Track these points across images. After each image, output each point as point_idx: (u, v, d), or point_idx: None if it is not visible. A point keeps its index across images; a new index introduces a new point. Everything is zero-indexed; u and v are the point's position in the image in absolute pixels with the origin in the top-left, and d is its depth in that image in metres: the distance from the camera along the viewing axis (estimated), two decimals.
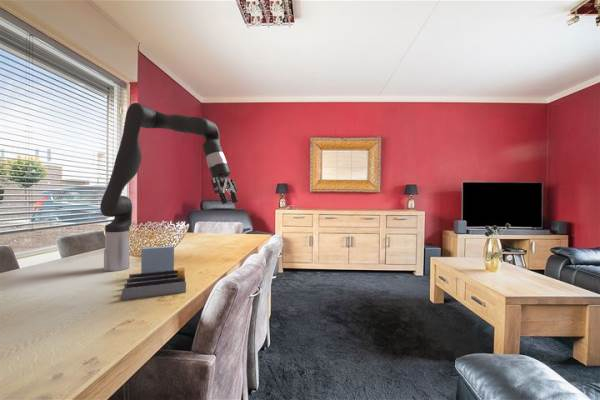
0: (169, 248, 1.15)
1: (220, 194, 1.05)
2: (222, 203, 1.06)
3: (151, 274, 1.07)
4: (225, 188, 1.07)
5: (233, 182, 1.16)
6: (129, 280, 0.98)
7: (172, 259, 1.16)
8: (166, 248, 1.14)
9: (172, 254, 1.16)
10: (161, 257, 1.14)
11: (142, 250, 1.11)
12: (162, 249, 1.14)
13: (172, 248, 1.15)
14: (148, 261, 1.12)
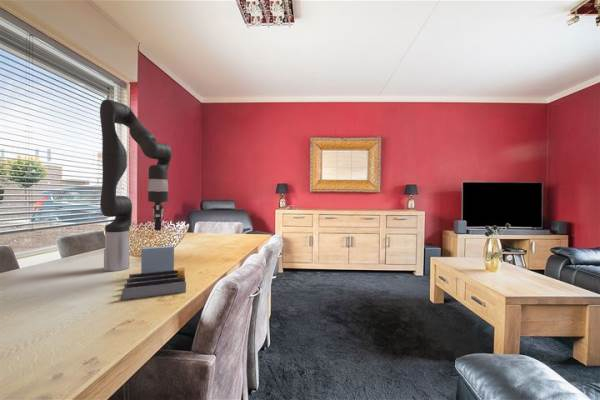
0: (169, 248, 1.15)
1: (157, 221, 1.09)
2: (155, 229, 1.10)
3: (151, 274, 1.07)
4: None
5: None
6: (129, 280, 0.98)
7: (172, 259, 1.16)
8: (166, 248, 1.14)
9: (172, 254, 1.16)
10: (161, 257, 1.14)
11: (142, 250, 1.11)
12: (162, 249, 1.14)
13: (172, 248, 1.15)
14: (148, 261, 1.12)
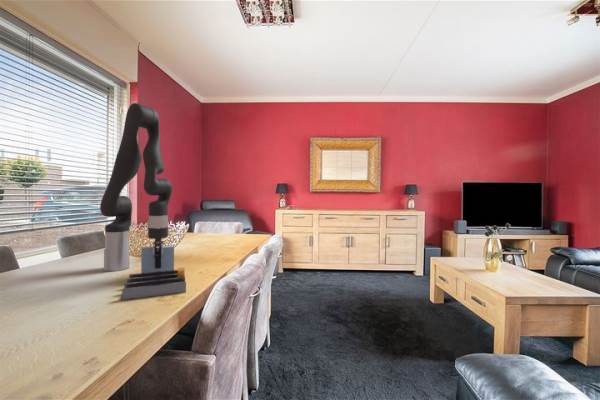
0: (169, 248, 1.15)
1: (157, 259, 1.12)
2: (155, 267, 1.12)
3: (151, 274, 1.07)
4: (162, 252, 1.14)
5: None
6: (129, 280, 0.98)
7: (172, 259, 1.16)
8: (166, 248, 1.14)
9: (172, 254, 1.16)
10: None
11: (142, 250, 1.11)
12: None
13: (172, 248, 1.15)
14: (148, 261, 1.12)
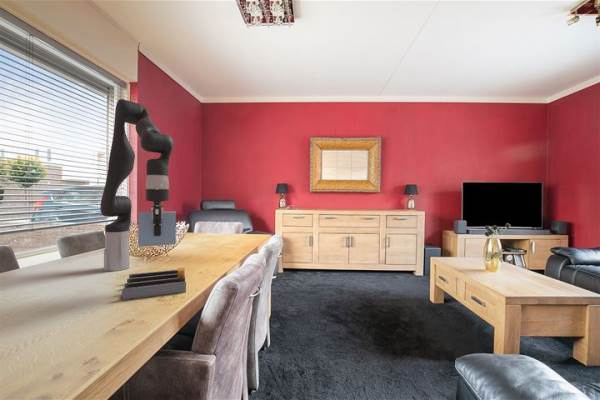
0: (170, 213, 1.01)
1: (156, 225, 0.97)
2: (154, 235, 0.98)
3: (151, 274, 1.07)
4: None
5: None
6: (129, 280, 0.98)
7: (174, 226, 1.01)
8: (167, 213, 1.00)
9: (174, 220, 1.01)
10: None
11: (139, 214, 0.96)
12: None
13: (174, 213, 1.01)
14: (146, 227, 0.97)
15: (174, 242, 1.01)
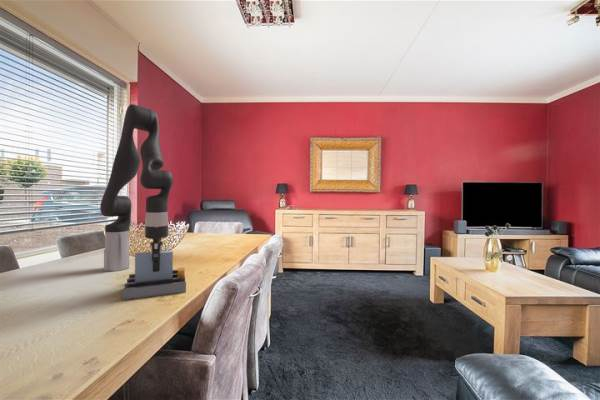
0: (167, 253, 1.00)
1: (155, 261, 0.95)
2: (153, 271, 0.96)
3: None
4: (161, 254, 0.98)
5: (160, 241, 1.06)
6: (129, 280, 0.98)
7: (171, 266, 1.01)
8: (164, 253, 1.00)
9: (171, 260, 1.01)
10: None
11: (136, 256, 0.96)
12: None
13: (171, 253, 1.01)
14: (143, 269, 0.97)
15: None
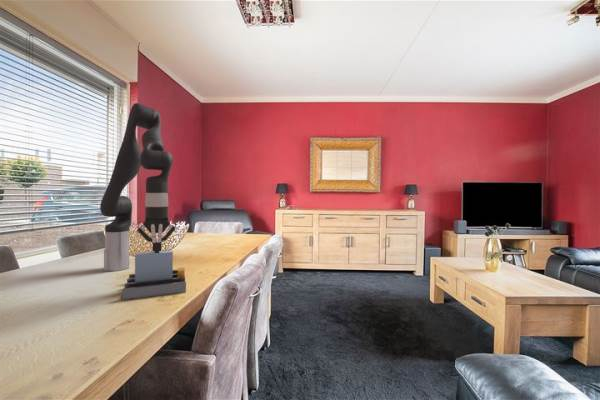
0: (167, 253, 1.00)
1: (152, 242, 0.99)
2: None
3: None
4: (155, 236, 0.98)
5: (170, 230, 1.01)
6: (129, 280, 0.98)
7: (171, 266, 1.01)
8: (164, 253, 1.00)
9: (171, 260, 1.01)
10: (158, 264, 0.99)
11: (136, 256, 0.96)
12: (159, 255, 0.99)
13: (171, 253, 1.01)
14: (143, 269, 0.97)
15: None
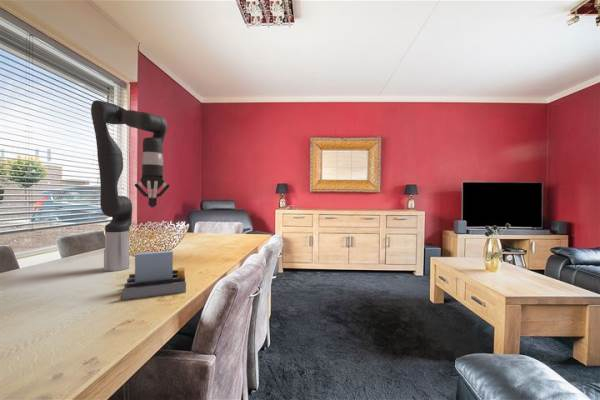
0: (167, 253, 1.00)
1: (148, 197, 1.10)
2: None
3: None
4: (151, 191, 1.09)
5: (165, 187, 1.11)
6: (129, 280, 0.98)
7: (171, 266, 1.01)
8: (164, 253, 1.00)
9: (171, 260, 1.01)
10: (158, 264, 0.99)
11: (136, 256, 0.96)
12: (159, 255, 0.99)
13: (171, 253, 1.01)
14: (143, 269, 0.97)
15: None
